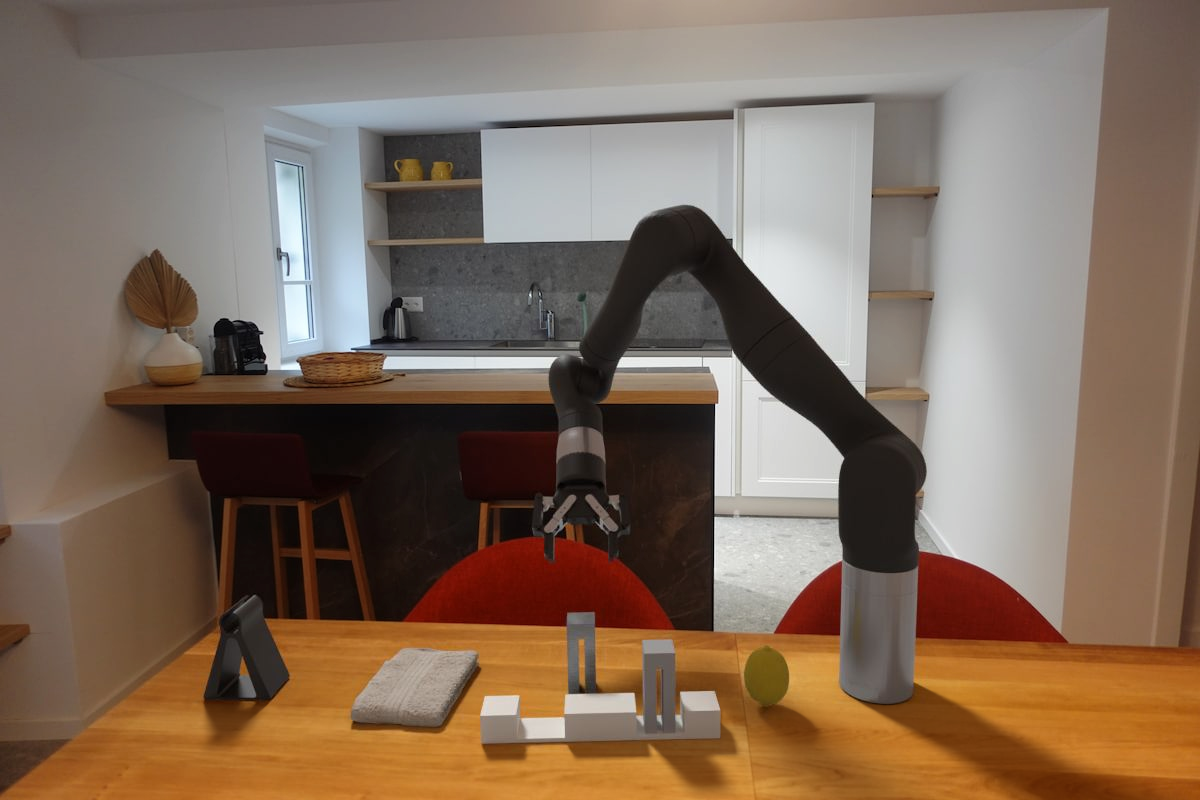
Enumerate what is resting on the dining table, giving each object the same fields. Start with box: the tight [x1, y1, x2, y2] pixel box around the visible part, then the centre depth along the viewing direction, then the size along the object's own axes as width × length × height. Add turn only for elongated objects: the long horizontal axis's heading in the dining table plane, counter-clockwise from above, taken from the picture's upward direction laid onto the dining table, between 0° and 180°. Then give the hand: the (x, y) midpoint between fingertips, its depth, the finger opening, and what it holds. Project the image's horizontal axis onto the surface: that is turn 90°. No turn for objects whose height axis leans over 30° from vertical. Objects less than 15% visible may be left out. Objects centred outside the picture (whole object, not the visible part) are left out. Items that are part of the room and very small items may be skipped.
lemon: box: [743, 645, 790, 708], centre depth 101 cm, size 6×6×8 cm
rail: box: [479, 638, 721, 745], centre depth 96 cm, size 28×4×10 cm, turn 91°
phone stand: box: [202, 594, 291, 701], centre depth 108 cm, size 9×6×12 cm, turn 87°
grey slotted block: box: [566, 611, 597, 694], centre depth 106 cm, size 4×4×10 cm
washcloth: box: [350, 647, 480, 728], centre depth 107 cm, size 12×18×3 cm, turn 173°
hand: (581, 560), depth 115 cm, fingers open, 8 cm apart
